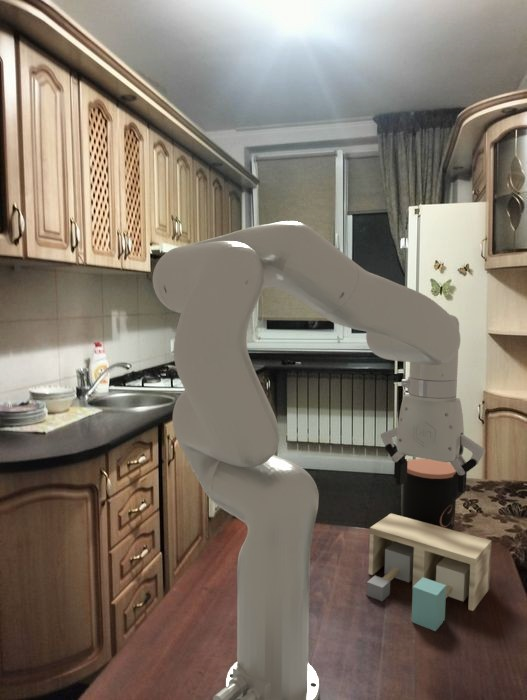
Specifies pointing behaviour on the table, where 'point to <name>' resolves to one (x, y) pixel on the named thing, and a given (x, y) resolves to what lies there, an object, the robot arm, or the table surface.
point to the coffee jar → (429, 493)
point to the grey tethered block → (392, 570)
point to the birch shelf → (433, 551)
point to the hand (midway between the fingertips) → (428, 489)
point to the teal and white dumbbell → (439, 592)
